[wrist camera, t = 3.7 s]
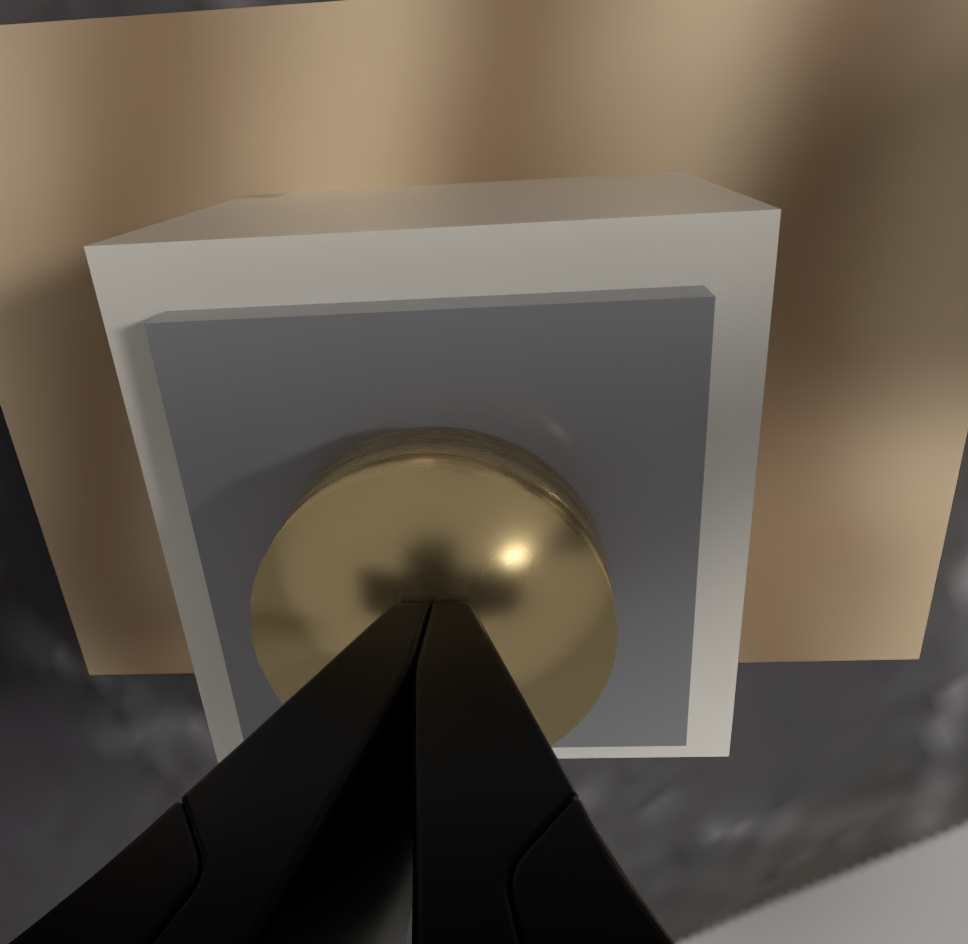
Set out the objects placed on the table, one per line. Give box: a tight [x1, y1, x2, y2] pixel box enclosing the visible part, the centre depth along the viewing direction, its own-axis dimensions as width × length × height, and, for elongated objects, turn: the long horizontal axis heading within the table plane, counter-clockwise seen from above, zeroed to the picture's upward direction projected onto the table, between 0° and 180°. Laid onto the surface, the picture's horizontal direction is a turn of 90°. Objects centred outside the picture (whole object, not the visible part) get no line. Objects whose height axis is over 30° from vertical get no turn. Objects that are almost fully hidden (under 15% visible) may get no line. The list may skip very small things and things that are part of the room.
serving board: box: [0, 0, 968, 675], centre depth 16 cm, size 20×14×1 cm
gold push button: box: [250, 426, 618, 746], centre depth 12 cm, size 5×5×7 cm
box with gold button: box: [84, 171, 781, 763], centre depth 14 cm, size 8×10×7 cm
